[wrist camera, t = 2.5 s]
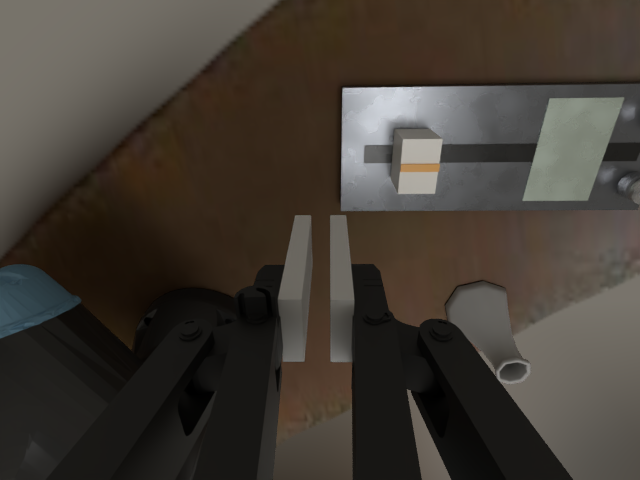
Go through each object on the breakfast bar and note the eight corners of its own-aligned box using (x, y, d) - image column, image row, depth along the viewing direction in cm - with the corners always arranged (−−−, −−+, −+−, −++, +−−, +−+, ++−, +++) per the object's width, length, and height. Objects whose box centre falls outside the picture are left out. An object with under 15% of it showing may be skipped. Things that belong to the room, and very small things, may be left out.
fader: (390, 178, 33) (398, 194, 29) (394, 129, 31) (403, 139, 27) (423, 178, 33) (435, 194, 29) (429, 128, 31) (443, 139, 27)
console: (340, 203, 36) (341, 222, 32) (341, 85, 31) (343, 91, 27) (622, 201, 36) (659, 221, 32) (671, 81, 30) (723, 85, 26)
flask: (450, 278, 40) (483, 342, 32) (514, 280, 40) (566, 345, 32) (438, 327, 44) (466, 397, 35) (498, 329, 44) (540, 400, 35)
